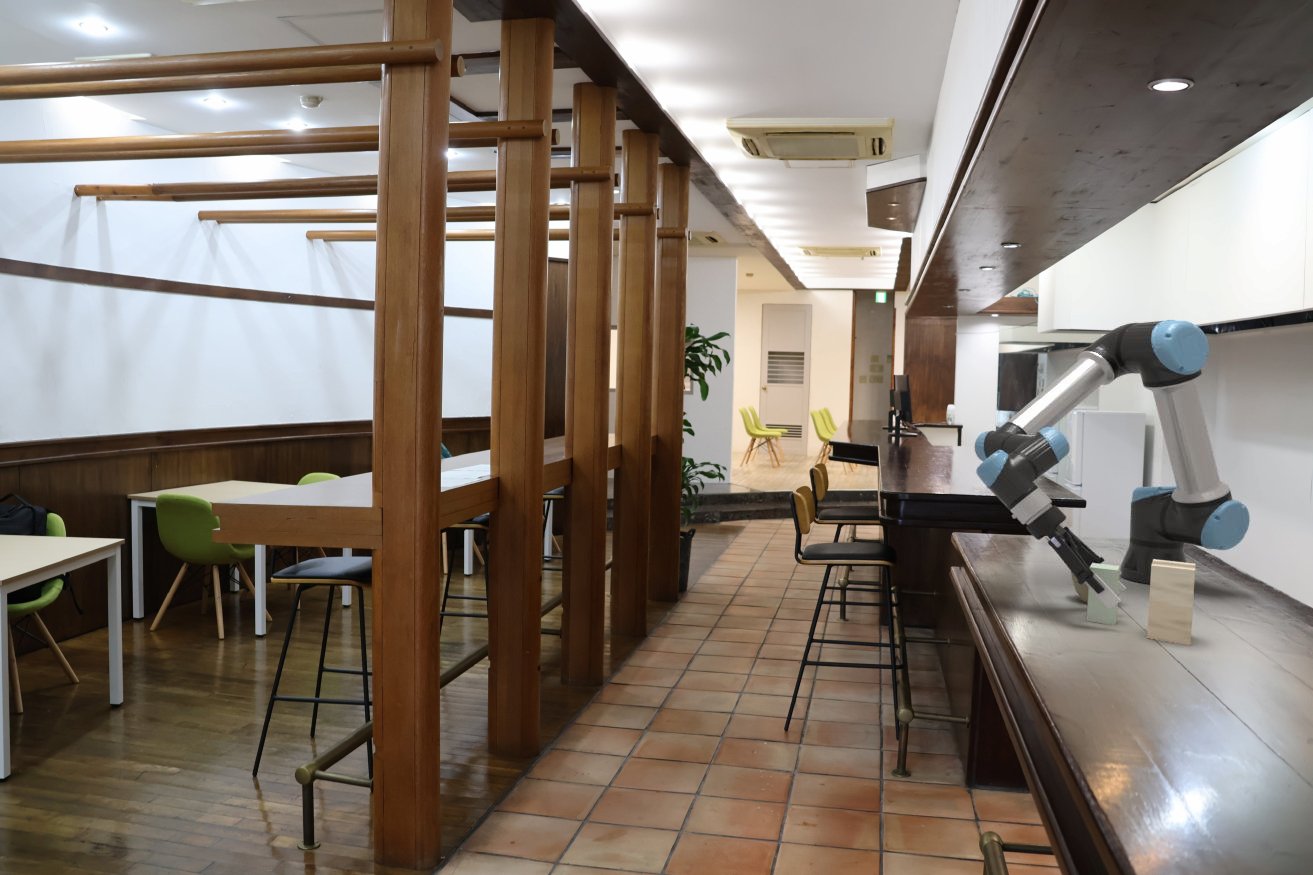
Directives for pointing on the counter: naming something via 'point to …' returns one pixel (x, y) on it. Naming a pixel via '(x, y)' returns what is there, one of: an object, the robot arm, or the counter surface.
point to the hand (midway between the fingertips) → (1117, 598)
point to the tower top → (1172, 583)
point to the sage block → (1095, 605)
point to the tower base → (1170, 623)
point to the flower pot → (1083, 588)
